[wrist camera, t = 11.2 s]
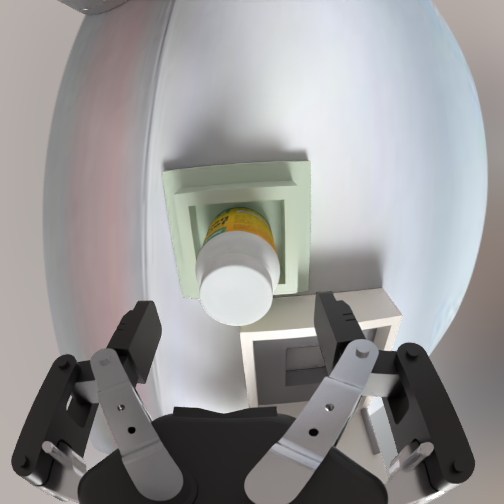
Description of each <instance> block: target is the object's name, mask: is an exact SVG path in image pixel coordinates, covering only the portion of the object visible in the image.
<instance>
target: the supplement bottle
mask: <svg viewBox="0 0 504 504" xmlns="http://www.w3.org/2000/svg"><path fill="white" fill-rule="evenodd" d="M195 273H196V279H197V282H198V285H199V287H200V288H199V298H200V302H201V305H202V307H203V309H204V310H205V312H206V313H207V314H208V315H209V316H210V317H212V318H213V319H215V320H216V321H218V322H220V323H223V324H226V325H231V326H242V325H248V324H251V323H254V322H256V321H257V320H259V319H260V318H262V317H263V316H264V315H265V314H266V313H267V312H268V310H269V308H270V307H271V304H272V300H273V292H274V290H275V289H276V287H277V284H278V281H279V277H280V264H279V259H278V255H277V251H276V247H275V243H274V239H273V235H272V231H271V227H270V225H269V223H268V221H267V219H266V218H265V217H264V216H263V215H262V214H261V213H260V212H258V211H257V210H255V209H253V208H251V207H247V206H235V207H230V208H227V209H225V210H223V211H221V212H220V213H219V214H218V215H217V216H216V217H215V218H214V219H213V221H212V223H211V225H210V227H209V230H208V232H207V234H206V237H205V239H204V242H203V245H202V247H201V249H200V252H199V254H198V257H197V260H196V266H195Z"/></svg>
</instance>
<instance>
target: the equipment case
mask: <svg viewBox="0 0 504 504" xmlns="http://www.w3.org/2000/svg"><path fill="white" fill-rule="evenodd" d="M333 295H334V297H335V299H336V301H339V300H343V301H344V302H345V303H347V304H348V305H349V306H350V308H351V309H352V311H353V314H354V315H355V317H356V320H357V321H358V323H359V325H360V328H361V330H362V332H363V334H364V336H365V338H366V340H369V341H371V342H373V343H374V344H375V345H376V346H377V347H378V349H379V350H384V351H391V350H392V348H393V345H394V342H395V339H396V336H397V332H398V329H399V326H400V323H401V319H402V316H403V315H402V314H401V312H400V311H399V309H398V308H397V307H396V305H395V304H394V302H393V301H392V300H391V298H390V297H389V296H388V294H387V293H386V292H385V290H384V289H383V288H377V289H368V290H359V291H349V292H339V293H333ZM315 297H316V295H305V296H291V297H277V298H273V300H272V304H271V307H270V308H269V310H268V312H267V313H266V314H265V315H264V316H263V317H262V318H260V319H259V320H257V321H256V322H254V323H251V324H248V325H242V326H240V340H241V348H242V357H243V365H244V373H245V381H246V389H247V397H248V404H249V408H255V407H271V406H277V413H281V414H286V415H289V416H292V417H295V418H297V417H298V416H299V414H300V413H301V412H302V410H303V409H304V407H305V406H306V405H307V403H308V402H309V400H310V399H311V397H312V396H313V394H314V393H315V391H316V390H317V388H318V387H319V385H320V384H321V382H322V381H323V379H324V378H325V377H326V376H328V373H327V369H326V367H320V368H312V369H303V370H293V371H286V349H290V348H301V347H311V346H320V345H319V342H318V338H317V335H316V332H315V328H314V309H315ZM372 398H373V396H363V397H362V399H361V401H360V403H359V405H358V407H357V409H356V411H355V413H354V415H353V417H352V419H351V421H350V423H349V424H348V426H347V428H346V430H345V432H344V434H343V436H342V438H341V440H340V441H339V443H338V445H337V446H336V448H337V449H338V450H340V451H341V452H342V453H344V454H345V455H347V456H348V457H349V458H351V459H352V460H353V461H355V462H356V463H358V464H359V465H360V466H362V467H363V468H365V469H366V470H368V471H369V472H371V473H372V474H374V475H375V476H376V477H378V478H379V479H380V480H381V481H382V482H383V484H385V483H387V481H388V475H387V471H386V467H385V464H384V461H383V458H382V454H381V451H380V448H379V445H378V442H377V438H376V435H375V432H374V429H373V426H372V423H371V420H370V417H369V414H368V411H367V409H368V407H369V405H370V403H371V401H372Z"/></svg>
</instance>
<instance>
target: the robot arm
mask: <svg viewBox="0 0 504 504" xmlns="http://www.w3.org/2000/svg"><path fill="white" fill-rule="evenodd" d="M58 1H60V2H62V3H64V4H66V5H68V6H69V7H71V8H73V9H75V10H77V11H79V12H81V13H83V14H91V15H92V14H99V13H102V12H106V11H108V10H111V9H113V8H115V7H117V6H119V5H121V4H122V3H124V2H126V1H127V0H58ZM314 328H315V332H316V335H317V338H318V342H319V345H320V348H321V352H322V355H323V359H324V362H325V366H326V369H327V373H328V376H326V377H325V378H324V379H323V381H322V382H321V384H320V385H319V387H318V388H317V390H316V391H315V393H314V394H313V396H312V397H311V399H310V400H309V402H308V403H307V405H306V406H305V407H304V409H303V410H302V412H301V413H300V414H299V416H298V417H297V418H295V417H292V416H289V415H286V414H281V413H277V406H271V407H255V408H247V409H243V410H239V411H235V412H230V413H225V414H222V413H217V412H213V411H209V410H204V409H200V408H188V407H174V410H173V414H168V415H165V416H162V417H159V418H157V419H155V420H153V419H152V417H151V416H150V414H149V412H148V410H147V409H146V407H145V405H144V403H143V401H142V399H141V397H140V396H139V394H138V392H137V390H136V388H135V387H136V384H137V383H141V384H145V383H146V380H147V377H148V374H149V371H150V368H151V365H152V362H153V358H154V355H155V352H156V350H157V347H158V344H159V341H160V338H161V334H162V327H161V323H160V320H159V316H158V313H157V310H156V307H155V304H154V302H153V301H138V302H137V304H136V306H135V308H134V309H133V310H130V311H129V312H128V313H126V314H125V315H124V316H123V318H122V319H121V321H120V323H119V325H118V327H117V330H115V332H114V334H113V336H112V338H111V340H110V342H109V344H108V346H107V348H105V349H101V350H99V351H97V352H96V353H94V354H93V356H92V357H91V360H88V361H82V362H77V361H76V359H75V357H74V356H72V355H69V354H66V355H62V356H60V357H58V358H57V359H56V360H55V361H54V363H53V365H52V367H51V368H50V370H49V372H48V374H47V376H46V378H45V380H44V382H43V384H42V386H41V388H40V390H39V392H38V395H37V396H36V399H35V401H34V403H33V405H32V407H31V410H30V412H29V414H28V416H27V419H26V421H25V424H24V426H23V428H22V431H21V434H20V436H19V439H18V441H17V444H16V447H15V450H14V453H13V456H12V460H11V463H12V467H13V470H14V471H15V472H16V473H17V474H18V475H19V476H21V477H22V478H24V479H25V480H27V481H28V482H29V483H30V484H32V485H33V486H35V487H36V488H38V489H40V490H41V491H43V492H45V493H47V494H49V495H51V496H54V497H55V498H57V499H59V500H61V501H69V500H71V501H74V502H76V503H79V504H426V503H428V502H430V501H432V500H434V499H436V498H438V497H440V496H441V495H443V494H445V493H447V492H448V491H450V490H452V489H453V488H455V487H457V486H458V485H460V484H461V483H463V482H464V481H466V480H467V479H468V478H469V477H470V476H471V475H472V473H473V471H474V467H475V460H474V457H473V454H472V451H471V448H470V446H469V443H468V440H467V438H466V435H465V433H464V431H463V428H462V426H461V423H460V421H459V418H458V416H457V414H456V412H455V409H454V407H453V405H452V403H451V401H450V398H449V396H448V394H447V392H446V390H445V388H444V386H443V384H442V382H441V380H440V378H439V376H438V374H437V372H436V370H435V368H434V366H433V364H432V362H431V361H430V359H429V357H428V355H427V353H426V351H425V350H424V349H423V347H421V346H420V345H418V344H415V343H404V344H402V345H401V346H400V347H399V348H398V350H397V351H384V350H379V349H378V347H377V346H376V345H375V344H374V343H373V342H371V341H369V340H366V338H365V336H364V334H363V332H362V330H361V328H360V325H359V323H358V321H357V320H356V317H355V315H354V314H353V311H352V309H351V308H350V306H349V305H348V304H347V303H345V302H344V301H343V300H339V301H336V299H335V297H334V295H333V293H332V291H327V292H317V293H316V297H315V309H314ZM70 395H71V396H72V399H71V402H70V404H69V407H68V410H66V405H67V402H68V399H69V397H70ZM363 396H376V397H382V400H383V403H384V407H385V410H386V413H387V416H388V420H389V423H390V426H391V430H392V433H393V437H394V441H395V444H396V448H397V452H398V455H397V456H396V457H395V458H394V459H393V460H392V462H391V464H390V467H389V478H388V481H387V483H385V484H383V482H382V481H381V480H380V479H379V478H378V477H376V476H375V475H374V474H372V473H371V472H369V471H368V470H366V469H365V468H363V467H362V466H360V465H359V464H358V463H356V462H355V461H353V460H352V459H351V458H349V457H348V456H347V455H345V454H344V453H342V452H341V451H340V450H338V449H337V448H336V446H337V445H338V443H339V441H340V440H341V438H342V436H343V434H344V432H345V430H346V428H347V426H348V424H349V423H350V421H351V419H352V417H353V415H354V413H355V411H356V409H357V407H358V405H359V403H360V401H361V399H362V397H363ZM99 403H100V405H101V407H102V410H103V413H104V415H105V418H106V420H107V423H108V425H109V428H110V430H111V433H112V435H113V437H114V440H115V442H116V444H117V446H118V449H116V450H115V451H114V452H112V453H111V454H110V455H109V456H107V457H106V458H105V459H103V460H102V461H101V462H99V463H98V464H97V465H95V466H94V467H92V468H91V469H90V470H88V471H87V470H86V463H85V461H84V459H83V456H84V452H85V449H86V445H87V441H88V438H89V434H90V431H91V427H92V424H93V421H94V417H95V414H96V411H97V408H98V405H99Z"/></svg>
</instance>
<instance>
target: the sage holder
mask: <svg viewBox="0 0 504 504" xmlns="http://www.w3.org/2000/svg"><path fill="white" fill-rule="evenodd" d="M162 176H163V184H164V192H165V199H166V206H167V212H168V219H169V225H170V231H171V237H172V243H173V248H174V254H175V259H176V264H177V270H178V275H179V280H180V284H181V289H182V294H183V298H191V299H200V298H199V288H200V287H199V285H198V282H197V279H196V273H195V266H196V260H197V257H198V254H199V252H200V249H201V247H202V245H203V242H204V239H205V237H206V234H207V232H208V230H209V227H210V225H211V223H212V221H213V219H214V218H215V217H216V216H217V215H218V214H219V213H220V212H221V211H223V210H225V209H227V208H230V207H235V206H247V207H251V208H253V209H255V210H257V211H258V212H260V213H261V214H262V215H263V216H264V217H265V218H266V219H267V221H268V223H269V225H270V227H271V231H272V235H273V239H274V243H275V247H276V251H277V255H278V259H279V264H280V277H279V281H278V284H277V287H276V289H275V290H274V292H273V295H280V294H294V293H297V292H304V291H308V289H309V267H310V232H311V166H310V161H270V162H250V163H235V164H222V165H211V166H201V167H192V168H183V169H175V170H167V171H163V172H162Z"/></svg>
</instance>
